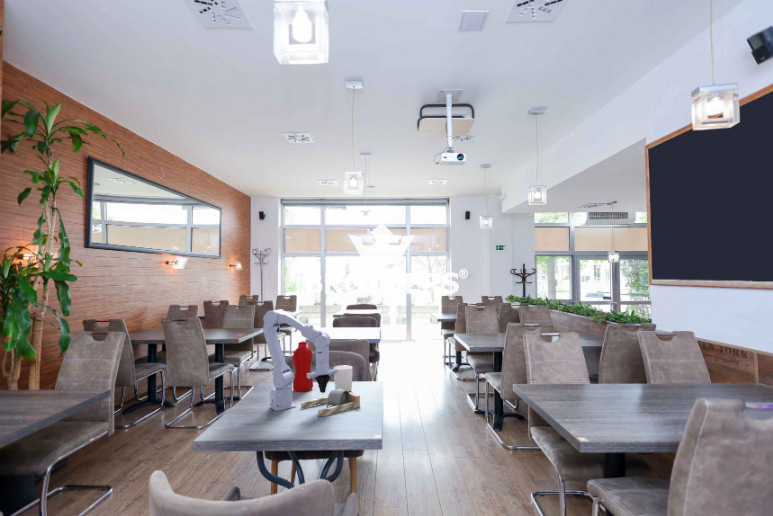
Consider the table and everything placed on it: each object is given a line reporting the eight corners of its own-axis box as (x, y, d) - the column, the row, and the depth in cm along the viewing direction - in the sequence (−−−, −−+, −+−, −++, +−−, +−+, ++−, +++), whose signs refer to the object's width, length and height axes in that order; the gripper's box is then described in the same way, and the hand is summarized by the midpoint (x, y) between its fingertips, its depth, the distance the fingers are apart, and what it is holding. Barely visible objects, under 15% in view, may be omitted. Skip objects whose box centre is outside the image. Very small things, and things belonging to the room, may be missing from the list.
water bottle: (296, 386, 228) (296, 339, 229) (315, 388, 225) (314, 340, 226) (287, 391, 219) (287, 342, 220) (306, 392, 216) (306, 343, 217)
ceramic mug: (337, 403, 197) (337, 386, 197) (351, 405, 192) (350, 388, 192) (321, 409, 188) (321, 392, 188) (335, 412, 183) (335, 394, 184)
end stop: (356, 407, 189) (356, 396, 189) (336, 400, 202) (336, 389, 202) (359, 406, 190) (359, 395, 190) (340, 399, 203) (340, 388, 203)
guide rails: (319, 417, 177) (319, 410, 177) (301, 408, 190) (301, 402, 190) (356, 407, 189) (356, 402, 189) (336, 400, 202) (336, 394, 202)
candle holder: (356, 391, 216) (355, 367, 217) (338, 394, 211) (338, 370, 212) (348, 387, 225) (347, 364, 225) (330, 390, 220) (330, 366, 220)
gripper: (312, 364, 181) (312, 397, 181) (341, 360, 190) (341, 391, 190) (304, 362, 187) (304, 393, 186) (332, 358, 196) (333, 388, 195)
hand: (322, 392), depth 188 cm, fingers closed
